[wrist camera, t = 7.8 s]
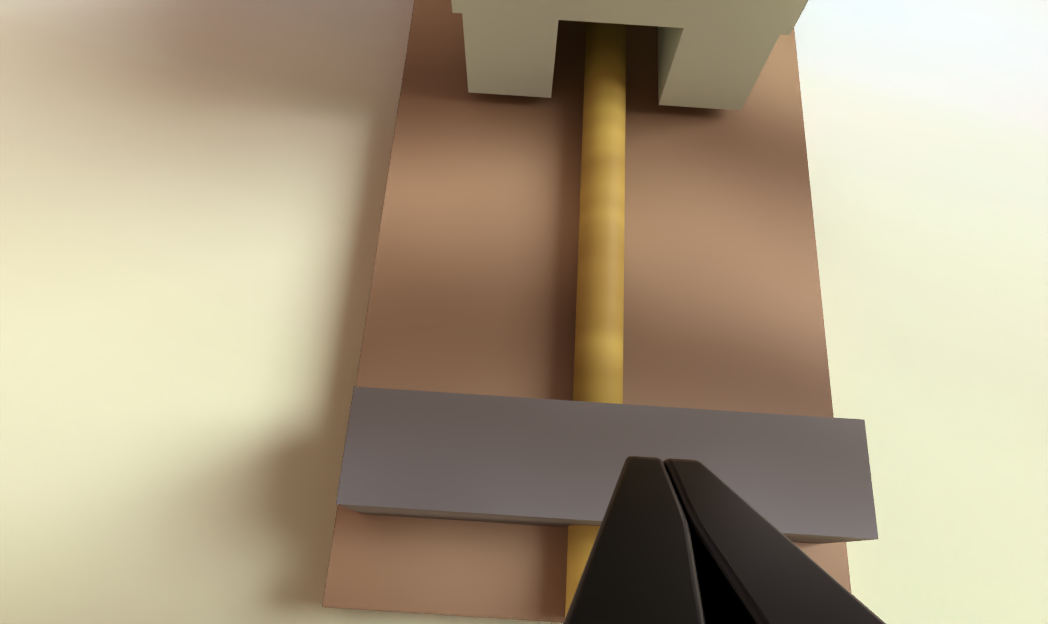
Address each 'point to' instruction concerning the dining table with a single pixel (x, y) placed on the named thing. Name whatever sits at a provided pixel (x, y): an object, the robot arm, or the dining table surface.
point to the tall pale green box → (670, 3)
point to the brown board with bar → (582, 326)
